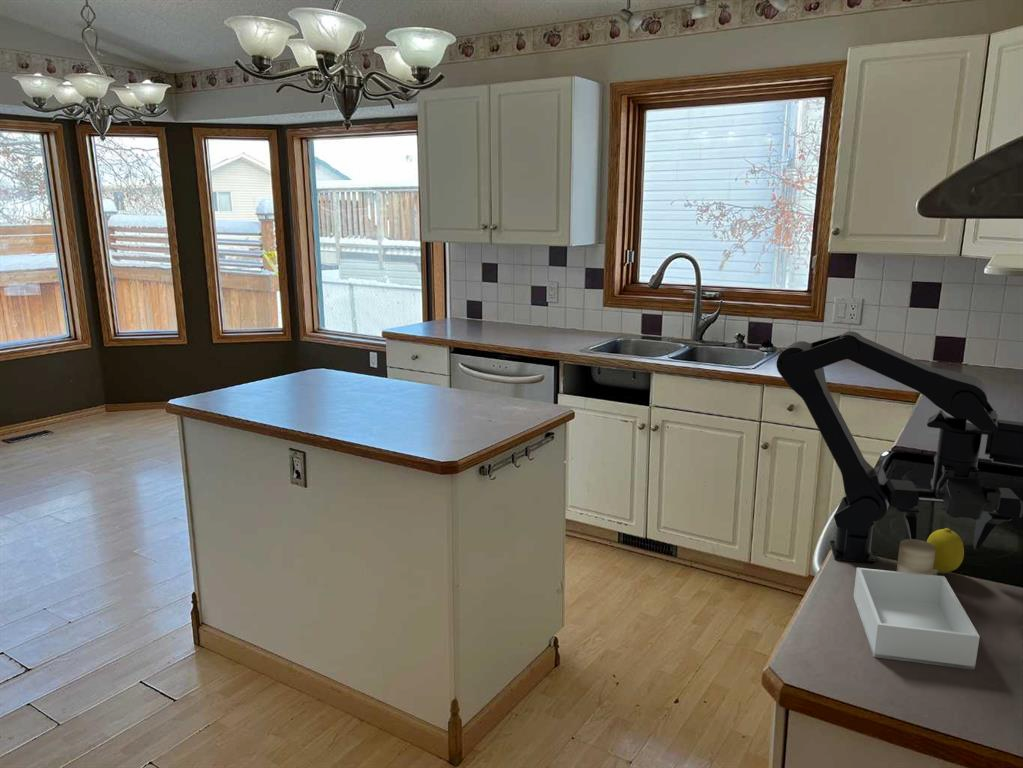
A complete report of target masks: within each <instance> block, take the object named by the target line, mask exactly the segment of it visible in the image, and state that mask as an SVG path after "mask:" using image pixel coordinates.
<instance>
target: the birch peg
mask: <svg viewBox="0 0 1023 768" xmlns="http://www.w3.org/2000/svg"><path fill="white" fill-rule="evenodd" d="M935 553H936V548H935V547H934V546H933V545H932V544H930V543H928V542H927V541H925V540H921V539H918V538H916V539H910V538H905V539H903V540H901V541H900V542H899V548H898V556H897V565H896V572H906V573H916V574H926V575H933V574H934V568H933V567H934V560H935Z"/></svg>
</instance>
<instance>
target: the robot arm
mask: <svg viewBox="0 0 1023 768" xmlns="http://www.w3.org/2000/svg"><path fill="white" fill-rule="evenodd" d="M844 360H849V361H851V362H854V363H856V364H858V365H861V366H862V367H864V368H867V369H869V370H871V371H873V372H876V373H878V374H880V375H882V376H885V377H886V378H888V379H891V380H893V381H895V382H897V383H900V384H901V385H905V386H907V387H908V388H910V389H913V390H915V391H917V392H918V393H920V394H921V395H922V396H924V397H925V398H926V399H928V400H929V401H930V402H931V403H932V404H934V405H935V406H936V407H937V408H939V409H940V410H939V411H938V412H937V413H935V414H933V415H932V416H930V417H929V418H928V419H927V423H926V426H927V428H934V429H939V431H938V432H939V434H938V440H937V448H936V454H934V457H933V462H934V468H933V476H932V478H931V479H930V486H931V489H929V488H928V489H927V488H918V487H916V486H915V484H914V483H913V481H912V480H907V479H906V480H904V479H888V478H887V475H886V473H885V470H884V467H883V465H881V464H880V465H878V466H876V467H873V466H872V465H871V464H870V463H869V462H867V460H866V459H865V457H864V455H863V454H862V451H861V450H860V447H859V446H858V444H857V442H856V440H855V438H854V436H853V434H852V432H851V431H850V429H849V427H848V424H847V422H846V421H845V419H844V417H843V415H842V414H841V411H840V409H839V407H838V405H837V404H836V401H835V400H834V398H833V396H832V395H831V392H830V391H829V388H828V385H827V380H826V375H825V368H824V367H828V366H830V365H833V364H835V363H838V362H841V361H844ZM776 369H777V372H778V373H779V375H780V376H781V377H782V379H783V380H784V381H785V383H786V384H787V386H788V387H789V388H791V389H792V391H794V393H796V394H797V396H799V397H800V398H801V399H802V400H803V402H804V404H805V406H806V407H807V409H808V411H809V413H810V416H811V417H812V420H813V421H814V423H815V425H816V427H817V428H818V431H819V433H820V434H821V436H822V439H823V441H824V442H825V444H826V447H827V448H828V450H829V452H830V453H831V456H832V458H833V460H834V461H835V463H836V465H837V467H838V469H839V471H840V473H841V478H842V484H843V490H844V494H845V496H844V497H842V498H841V500H840V502H839V505H838V506H837V508H836V511H835V513H834V516H833V519H834V521H835V524H836V527H835V537H834V540H830V541H829V546H830V549H831V552H832V555H833V559H834V560H840V561H849V562H858V563H859V562H860V563H870V564H875V563H876V558H875V556H874V553H873V551H872V548H871V547H872V538H873V532H874V531H873V529H874V522H878V521H880V520H882V519H883V518H884V517H885V516H886V513H887V511H888V508H889V506H890V507H893V508H896V509H897V511H898V512H900V513H902V514H903V517H904V520H905V524H906V528H907V532H908V536H909V539H917V537H918V536H917V534H918V533H917V531H918V530H917V529H918V528H917V526H918V515H919V513H920V511H919V509H918V507H917V506H918V505H919V502H921V501H922V502H934V503H942V504H943V505H944V507H945V513H946V514H947V515H948V516H949V517H950V518H955V519H959V518H967V519H972V520H976V522H975V527H974V533H973V542H972V543H973V544H972V545H973V547H972V548H973V549H974V550H975V551H979V550H980V548H981V547H982V545H984V542H985V541H986V540H987V538H988V537H989V535H990V534H991V532H992V531H993V530H994V529H995V527H996V526H997V525H999V524H1002V523H1003V522H1010V521H1011V520H1013V519H1012V518H1015V519H1016V518H1017V519H1019V518H1022V517H1023V500H1021V498H1019V496H1018V495H1017V494H1015V492H1013V490H1012V489H1011V488H1009V487H997V486H986V485H981V483H980V479H979V478H980V469H979V468H978V463H979V458H980V457H979V456H980V451H981V443H982V437H983V435H985V436H986V441H985V447H984V455H986V456H989V457H988V459H989V460H991V463H995V464H1000V465H1001V464H1002V465H1009V466H1016V467H1021V468H1022V467H1023V422H1021V421H1013V420H1008V419H1007V420H1006V419H999V415H998V414H997V411H996V410H994V407H993V406H992V405H991V404H990V402H989V401H988V389H987V387H986V384H985V383H984V382H983V381H982V380H981V379H980V378H978V377H975V376H973V375H969V374H966V373H962V372H958V371H953V370H948V369H941V368H937V367H934V366H930V365H927V364H926V363H922V362H920V361H918V360H916V359H913V358H911V357H909V356H907V355H904V354H902V353H900V352H899V351H896V350H893V349H891V348H889V347H886V346H884V345H882V344H880V343H878V342H876V341H873V340H871V339H869V338H866V337H864V336H862V335H861V334H860V333H858V332H856V331H851V330H850V331H845V332H843V333H842V334H840V335H839V334H838V335H836V336H830V337H827V338H823V339H820V340H817V341H813V342H811V343H810V342H807V341H805V340H804V341H803V340H802V341H800V340H799V341H795V342H792V343H791V344H790V345H789V346H787V347H786V348H785V349H784V350H782V351H781V352H780V354H779V355H778V358H777V360H776ZM946 413H947V414H948V415H947V414H946ZM967 421H968V422H967Z"/></svg>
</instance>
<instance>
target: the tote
mask: <svg viewBox="0 0 1023 768" xmlns="http://www.w3.org/2000/svg"><path fill="white" fill-rule="evenodd" d="M896 571H897V570H896ZM896 571H894V570H885V569H873V568H866V567H856V571H855V580H854V588H853V598H854V602H855V605H856V607H857V608H856V609H857V610H858V614H859V617H860V620H861V623H862V626H863V630H864V632H865V635H866V638H867V640H868V644H869V646H870V650H871V653H872V656H873V658H880V659H886V660H893V661H894V660H896V661H900V662H901V661H903V662H908V663H910V662H912V663H919V664H925V665H932V666H933V665H934V666H942V667H949V668H957V669H963V670H971V671H972V670H973V671H974V670H975V669H976V663H977V658H978V657H977V656H978V652H979V651H978V649H979V643H980V635H979V633H978V630H977V629H976V628H975V625H974V624H973V623H972V621H971V619H970V617H969V615H968V614H967V612H966V610H965V608H964V607H963V605H962V603H961V602H960V600H959V599H958V597H957V595H956V593H955V591H954V590H953V588H952V587H951V585H950V583H949V582H948V579H947V578H946V577H945V575H935V574H934V575H933V574H932V575H926V574H916V573H906V572H896Z"/></svg>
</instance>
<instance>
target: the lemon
mask: <svg viewBox="0 0 1023 768" xmlns="http://www.w3.org/2000/svg"><path fill="white" fill-rule="evenodd" d="M926 542H928V543H930V544H932V545H933V546H934V547H935V548H936V553H935V560H934V567H933V570H936V571H937V572H938V573H939V574H945V573H949V572H953V571H955V570H957V569H958V568H959V567H960V566H961V565H962V562H963V560H964V556H965V548H964V546H965V545H964V543H963V540H962V538H961V537H960V536H959V534H958V533H956V532H955V531H953V530H951V529H950V528H948V527H945V528H941V529H937V530H935V531H933V532H931V533H930V535H929V536H928V537H927V540H926Z"/></svg>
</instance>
